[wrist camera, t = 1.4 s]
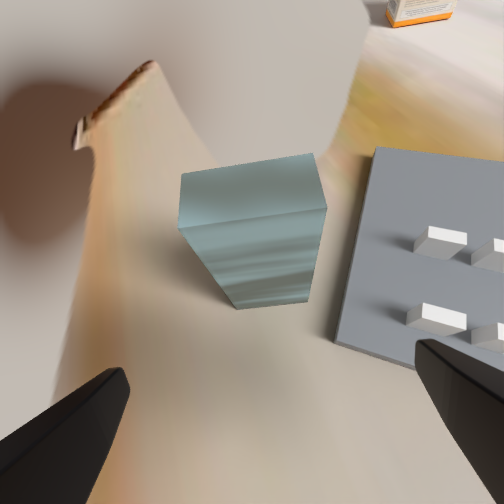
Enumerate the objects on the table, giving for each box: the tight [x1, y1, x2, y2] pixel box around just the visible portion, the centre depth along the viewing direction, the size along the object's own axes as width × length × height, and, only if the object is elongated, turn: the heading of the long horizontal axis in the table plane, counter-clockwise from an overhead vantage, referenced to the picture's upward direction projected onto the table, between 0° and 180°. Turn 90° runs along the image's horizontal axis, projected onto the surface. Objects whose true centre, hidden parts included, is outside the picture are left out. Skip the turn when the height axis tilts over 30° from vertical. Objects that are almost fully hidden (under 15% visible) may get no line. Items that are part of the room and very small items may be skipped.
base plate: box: [334, 146, 504, 371], centre depth 20 cm, size 20×15×4 cm
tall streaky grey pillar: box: [178, 153, 327, 310], centre depth 17 cm, size 4×6×13 cm, turn 94°
